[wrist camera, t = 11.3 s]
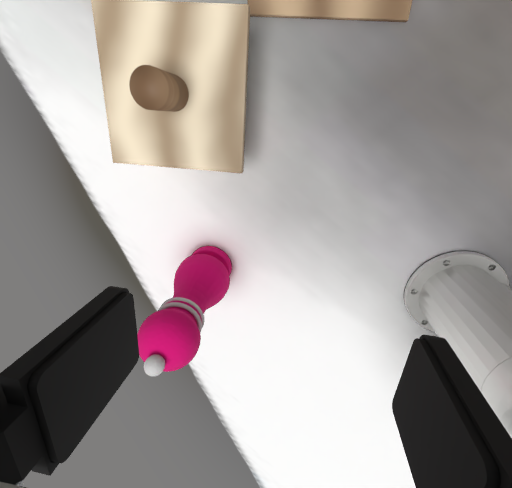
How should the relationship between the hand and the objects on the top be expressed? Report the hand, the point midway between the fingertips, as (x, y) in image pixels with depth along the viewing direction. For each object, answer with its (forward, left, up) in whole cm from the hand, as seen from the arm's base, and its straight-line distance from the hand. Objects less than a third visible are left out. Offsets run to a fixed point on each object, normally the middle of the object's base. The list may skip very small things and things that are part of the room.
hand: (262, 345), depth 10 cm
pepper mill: (+10, +13, -30) cm, 34 cm away
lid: (+11, -9, -23) cm, 27 cm away
